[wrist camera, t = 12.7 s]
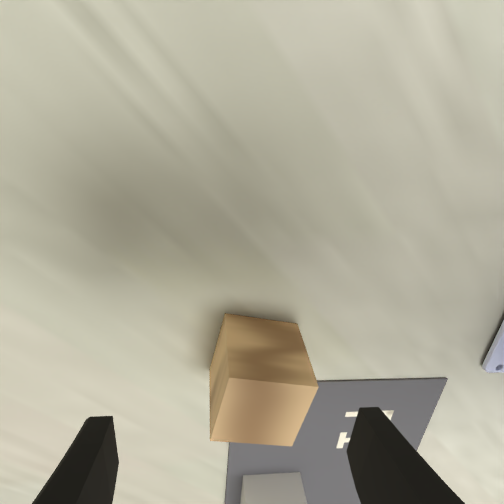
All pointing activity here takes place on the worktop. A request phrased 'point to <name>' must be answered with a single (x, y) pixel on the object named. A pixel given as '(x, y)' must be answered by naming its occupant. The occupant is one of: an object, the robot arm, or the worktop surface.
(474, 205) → the worktop surface
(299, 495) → the grey block
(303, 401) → the oak block
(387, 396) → the mat
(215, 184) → the worktop surface
